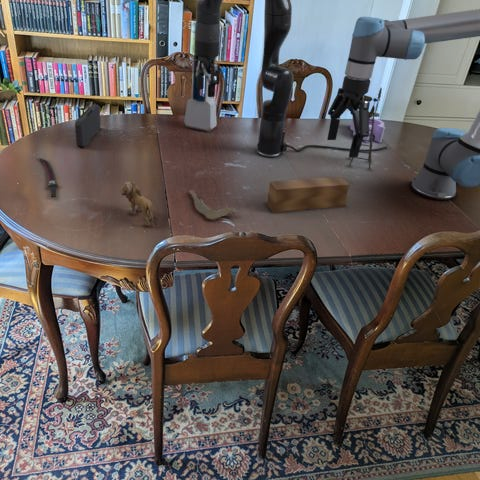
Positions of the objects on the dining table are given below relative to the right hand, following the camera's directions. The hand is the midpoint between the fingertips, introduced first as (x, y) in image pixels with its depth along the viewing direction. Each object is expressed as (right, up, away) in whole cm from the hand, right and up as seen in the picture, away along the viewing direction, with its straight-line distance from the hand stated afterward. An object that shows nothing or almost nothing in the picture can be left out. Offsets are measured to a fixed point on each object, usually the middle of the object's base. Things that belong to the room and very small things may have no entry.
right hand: (341, 147), depth 144 cm
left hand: (-42, +19, +5) cm, 47 cm away
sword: (-94, -8, +7) cm, 95 cm away
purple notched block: (+26, +20, +72) cm, 79 cm away
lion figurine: (-61, -22, -8) cm, 65 cm away
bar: (-10, -17, +8) cm, 21 cm away
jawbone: (-40, -18, +2) cm, 44 cm away
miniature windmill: (+16, +2, +41) cm, 44 cm away
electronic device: (-49, +20, +59) cm, 79 cm away
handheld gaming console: (-91, +12, +39) cm, 99 cm away
